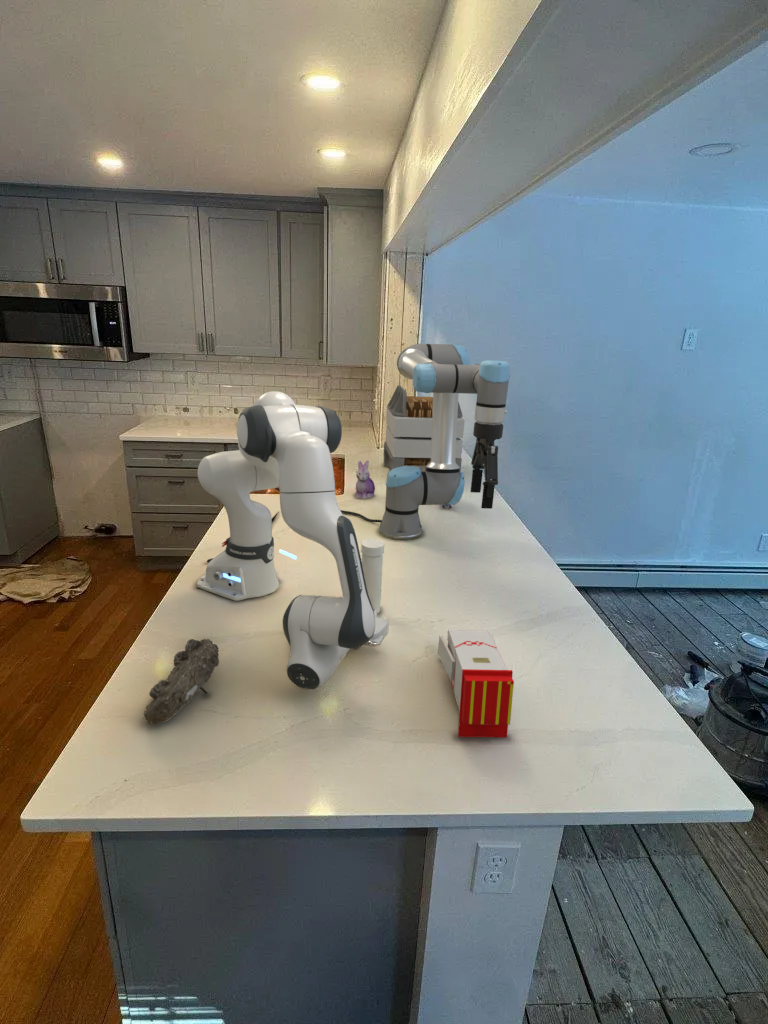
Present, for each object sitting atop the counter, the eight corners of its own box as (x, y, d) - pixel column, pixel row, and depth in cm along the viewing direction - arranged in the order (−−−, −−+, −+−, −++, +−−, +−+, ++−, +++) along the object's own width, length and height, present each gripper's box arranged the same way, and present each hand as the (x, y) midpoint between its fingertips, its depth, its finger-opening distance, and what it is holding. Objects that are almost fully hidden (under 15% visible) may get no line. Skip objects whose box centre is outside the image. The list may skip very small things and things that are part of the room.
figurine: (359, 500, 232) (360, 465, 227) (349, 493, 240) (350, 458, 235) (380, 498, 236) (381, 463, 231) (369, 490, 244) (370, 457, 239)
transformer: (382, 463, 289) (386, 382, 275) (445, 464, 293) (451, 384, 279) (390, 482, 257) (394, 392, 243) (460, 483, 261) (468, 394, 247)
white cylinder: (360, 547, 146) (360, 538, 145) (382, 547, 146) (383, 538, 145) (361, 556, 140) (361, 547, 140) (384, 556, 141) (385, 547, 140)
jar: (359, 604, 151) (361, 540, 145) (379, 604, 152) (382, 540, 145) (360, 615, 146) (362, 549, 140) (380, 615, 147) (384, 549, 140)
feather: (286, 506, 225) (288, 502, 225) (268, 529, 199) (271, 525, 198) (282, 503, 225) (284, 499, 225) (264, 526, 199) (267, 522, 198)
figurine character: (456, 513, 226) (451, 497, 240) (458, 496, 223) (453, 481, 236) (439, 513, 226) (435, 497, 239) (441, 495, 223) (437, 480, 236)
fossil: (172, 641, 124) (220, 609, 119) (203, 670, 127) (251, 640, 122) (121, 717, 104) (176, 683, 99) (159, 749, 107) (214, 718, 102)
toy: (488, 613, 130) (523, 677, 101) (484, 667, 133) (517, 744, 104) (435, 612, 130) (455, 676, 101) (432, 666, 133) (451, 743, 103)
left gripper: (379, 634, 121) (397, 604, 134) (292, 615, 127) (318, 588, 139) (377, 659, 123) (396, 628, 136) (292, 639, 129) (318, 611, 141)
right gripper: (516, 432, 136) (506, 515, 143) (491, 414, 159) (483, 486, 166) (486, 431, 135) (477, 515, 142) (465, 413, 159) (458, 485, 166)
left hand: (356, 607), depth 138 cm, fingers open, 8 cm apart
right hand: (480, 499), depth 154 cm, fingers open, 13 cm apart
